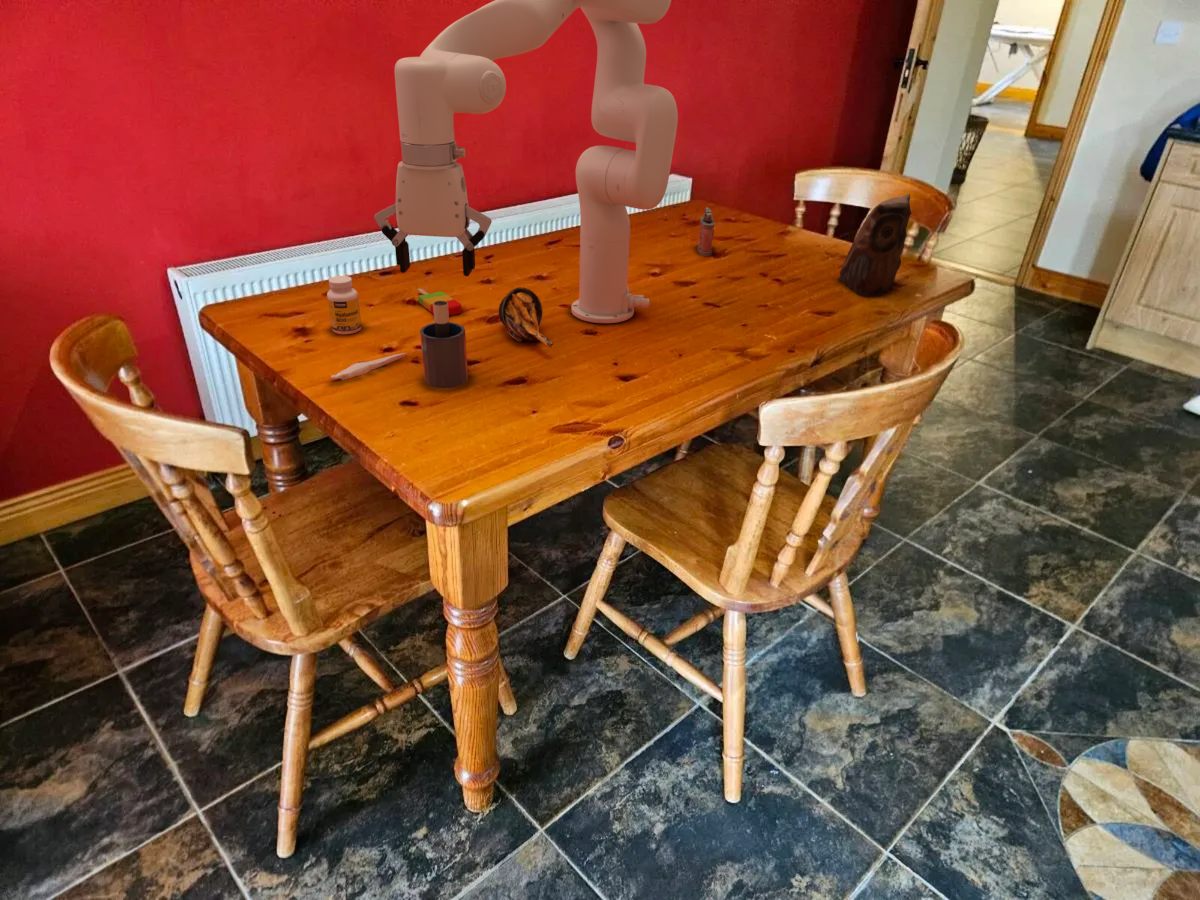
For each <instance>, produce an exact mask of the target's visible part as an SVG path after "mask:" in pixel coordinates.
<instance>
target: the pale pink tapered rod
mask: <svg viewBox="0 0 1200 900" xmlns="http://www.w3.org/2000/svg"><path fill="white" fill-rule="evenodd" d="M406 355H408V352H403V353H397V354H392V355H389V356H385V357H381V358H377V359H373V360H369V361H361V362H356V363H353V364H351V365H349V366H348V367H347V368H346V369H343V370H341V371H339V372H338V373H335V374H333V375H332V374H331V375H330V378H331V379H332V380H338V379H339V380H341V381H343V380H348V379H349V380H350V379H352V378H354V377H361V376H364V375H366V374H368V373H369V372H370V371H373V370H376V369H378V368H382V367H383V366H385V365H388V364H391V363H393V362H395V361H398V360H399V359H401V358H404V357H406Z"/></svg>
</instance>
